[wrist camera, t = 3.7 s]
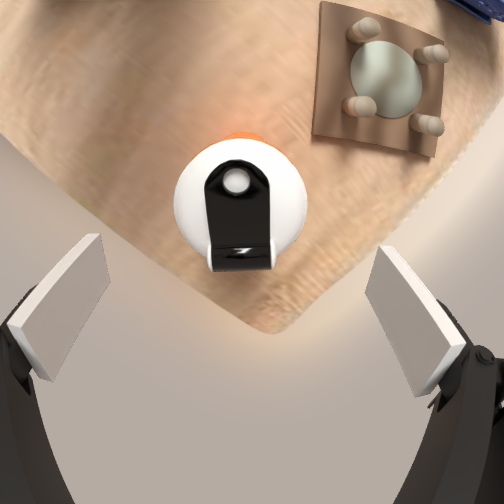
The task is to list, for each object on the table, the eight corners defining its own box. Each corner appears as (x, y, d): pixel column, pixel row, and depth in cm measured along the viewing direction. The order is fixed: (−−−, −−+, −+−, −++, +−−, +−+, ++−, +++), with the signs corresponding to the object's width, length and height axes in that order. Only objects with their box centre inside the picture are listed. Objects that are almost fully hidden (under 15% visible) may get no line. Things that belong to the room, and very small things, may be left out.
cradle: (311, 133, 32) (324, 139, 26) (319, 3, 23) (333, -14, 18) (429, 156, 33) (455, 166, 27) (439, 42, 24) (465, 38, 18)
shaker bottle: (273, 118, 31) (307, 133, 13) (285, 187, 35) (322, 277, 18) (199, 133, 32) (142, 168, 14) (216, 200, 36) (187, 299, 18)
